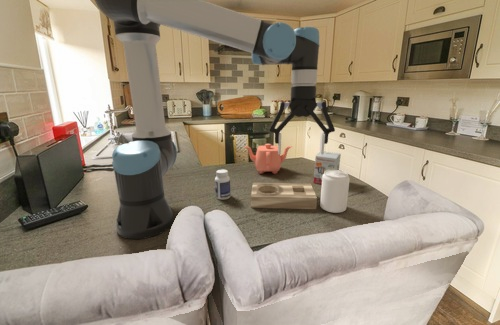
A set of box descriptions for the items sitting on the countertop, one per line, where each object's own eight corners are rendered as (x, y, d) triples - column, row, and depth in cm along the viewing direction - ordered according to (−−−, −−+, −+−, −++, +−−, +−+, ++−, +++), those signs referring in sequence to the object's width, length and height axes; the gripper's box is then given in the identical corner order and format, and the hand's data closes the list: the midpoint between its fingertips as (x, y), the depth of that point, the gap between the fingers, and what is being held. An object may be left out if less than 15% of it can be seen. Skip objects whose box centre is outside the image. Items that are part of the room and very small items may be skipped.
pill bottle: (233, 195, 93) (232, 169, 90) (226, 201, 88) (225, 174, 85) (220, 192, 95) (218, 168, 92) (212, 198, 90) (211, 172, 87)
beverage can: (326, 200, 88) (328, 167, 84) (349, 207, 83) (353, 172, 79) (315, 209, 82) (318, 174, 78) (340, 217, 77) (344, 179, 73)
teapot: (291, 170, 118) (292, 144, 114) (265, 179, 108) (265, 150, 105) (269, 163, 129) (269, 139, 126) (243, 170, 119) (243, 144, 116)
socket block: (316, 209, 82) (317, 197, 80) (250, 207, 83) (250, 196, 82) (310, 193, 93) (310, 183, 92) (252, 192, 94) (252, 182, 93)
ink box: (312, 183, 103) (314, 155, 100) (317, 176, 111) (319, 150, 107) (334, 186, 99) (337, 157, 96) (338, 179, 107) (341, 152, 103)
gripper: (342, 84, 79) (336, 150, 86) (262, 85, 81) (262, 150, 87) (349, 84, 72) (342, 156, 79) (262, 85, 74) (261, 156, 80)
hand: (300, 153), depth 83 cm, fingers open, 13 cm apart
